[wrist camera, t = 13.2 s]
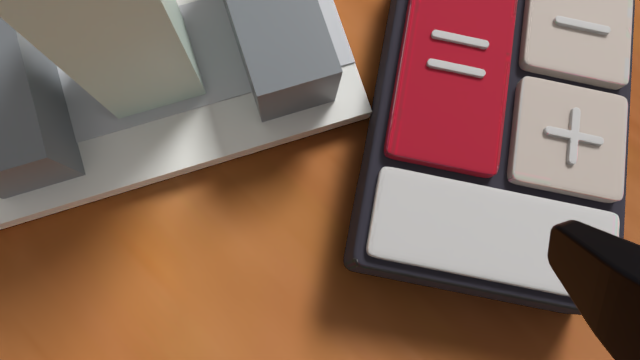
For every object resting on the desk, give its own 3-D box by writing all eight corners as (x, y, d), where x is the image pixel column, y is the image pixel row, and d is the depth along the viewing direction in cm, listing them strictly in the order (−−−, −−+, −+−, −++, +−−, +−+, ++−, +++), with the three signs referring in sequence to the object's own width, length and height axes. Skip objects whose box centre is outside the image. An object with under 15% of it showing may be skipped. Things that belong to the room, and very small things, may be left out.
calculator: (648, -19, 22) (634, 320, 19) (591, 30, 27) (571, 315, 23) (411, -70, 22) (353, 264, 19) (391, -13, 26) (341, 269, 23)
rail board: (304, -63, 25) (308, -132, 21) (368, 117, 24) (386, 84, 20) (-59, 30, 23) (-140, -24, 19) (-13, 233, 22) (-89, 225, 18)
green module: (206, 93, 23) (141, -40, 13) (118, 118, 22) (-19, 0, 12) (182, 14, 23) (102, -171, 13) (96, 38, 23) (-52, -137, 13)
